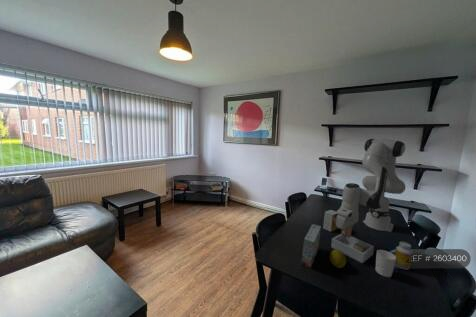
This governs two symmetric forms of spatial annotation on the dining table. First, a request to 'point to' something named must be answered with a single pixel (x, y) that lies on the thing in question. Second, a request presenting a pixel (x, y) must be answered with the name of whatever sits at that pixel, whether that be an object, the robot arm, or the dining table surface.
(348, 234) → the brown oval piece
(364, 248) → the beech cube
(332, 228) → the small box
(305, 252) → the snack box
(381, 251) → the white cup
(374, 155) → the robot arm
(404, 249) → the supplement bottle
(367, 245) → the tote
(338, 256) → the lemon
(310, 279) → the dining table surface
